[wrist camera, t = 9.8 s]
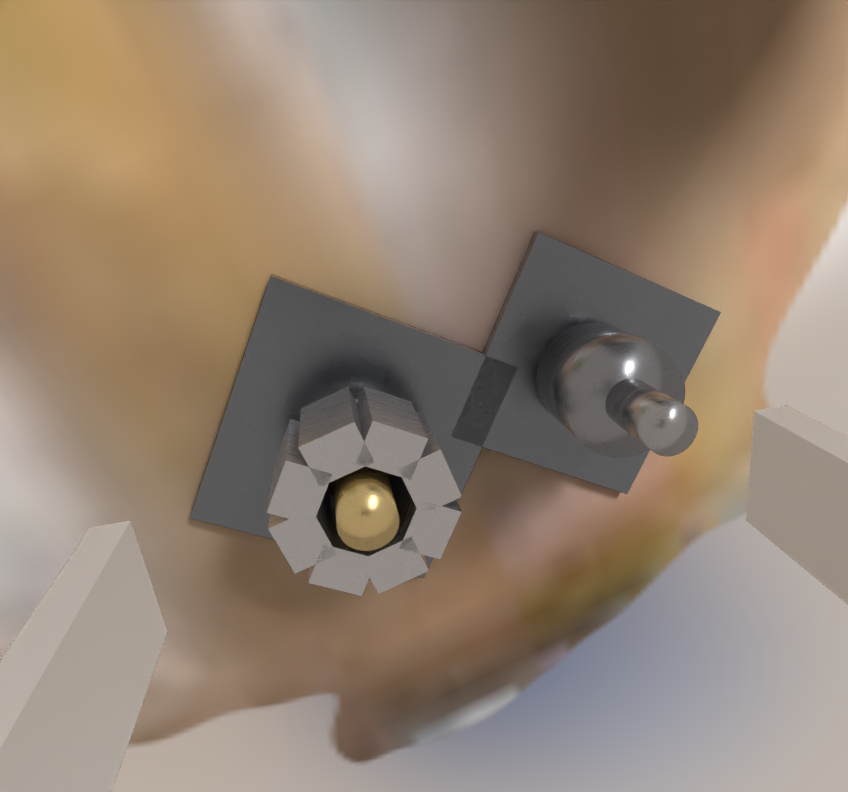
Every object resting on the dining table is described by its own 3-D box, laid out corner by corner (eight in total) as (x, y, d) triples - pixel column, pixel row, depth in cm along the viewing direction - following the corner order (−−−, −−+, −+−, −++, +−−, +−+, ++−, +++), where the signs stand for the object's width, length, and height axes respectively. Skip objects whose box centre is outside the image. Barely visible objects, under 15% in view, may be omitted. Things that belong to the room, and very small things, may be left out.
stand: (535, 231, 33) (618, 245, 24) (714, 310, 36) (847, 349, 27) (448, 432, 36) (494, 513, 27) (622, 489, 39) (715, 579, 30)
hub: (271, 274, 31) (254, 306, 22) (514, 364, 35) (583, 423, 26) (191, 512, 34) (148, 625, 25) (422, 572, 38) (455, 689, 29)
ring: (248, 431, 30) (236, 475, 25) (399, 362, 30) (415, 393, 25) (321, 559, 33) (322, 620, 28) (459, 495, 33) (483, 545, 28)
